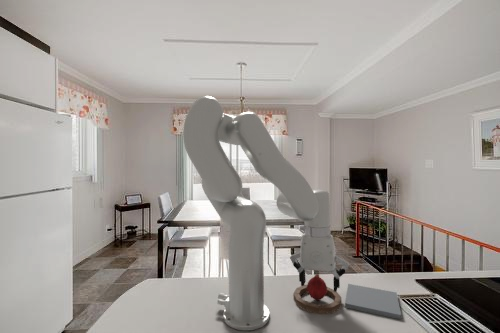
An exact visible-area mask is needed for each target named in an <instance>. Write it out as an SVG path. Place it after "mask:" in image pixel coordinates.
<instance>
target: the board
mask: <svg viewBox="0 0 500 333" xmlns="http://www.w3.org/2000/svg"><path fill="white" fill-rule="evenodd" d="M344 307H345V309H350V310H357V311H360V312H364V313H370V314H375V315H378V316H383V317H387V318H393V319H396V320H397V319H398V320H402V311H401V308H400V303H399V298H398V294H397V292H395V291H392V290H391V291H390V290H385V289H379V288H374V287H373V288H372V287H369V286H364V285H357V284H351V283H348V284H347V289H346V295H345V302H344Z"/></svg>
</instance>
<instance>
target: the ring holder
mask: <svg viewBox="0 0 500 333" xmlns="http://www.w3.org/2000/svg"><path fill="white" fill-rule="evenodd" d="M305 293H308V290H307V284H304V286H301V285H300V286H298V287H296V288H295V290H294V291H293V293H292V294H293V295H292V297H293V300H294V302H295V305H296V306H298V307H299V308H301V309H302V310H304V311H305V312H310V313H314V314H318V315H324V314H326V315H327V314H333V313H335V312H337V311H339V310H341V306H342V296H341V294H340V293H339V292H335V291H334V288H331V287H328V286H327V293H326V296H329V297H331V298H332V299H333V301H332V302H330V303H328V304H316V303H311V302H308V301H307V300H305V299H303V298H302V297H301V296H302V295H304V294H305Z"/></svg>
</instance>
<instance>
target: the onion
mask: <svg viewBox="0 0 500 333" xmlns="http://www.w3.org/2000/svg"><path fill="white" fill-rule="evenodd" d="M306 285H307V290H308V292H307V293H308V295H309V297H310V298H312V299H313V300H314V301H317V302H318V301H320V300H323V298H325V297H326V296H327V294H326V293H327V287H328V286H327V283H326V282H325V280H324V279H323V278H322V277H320V274H319V273H315V274H314V276H313V277H310V279H309V280H308V282H307V284H306Z"/></svg>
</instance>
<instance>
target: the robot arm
mask: <svg viewBox="0 0 500 333" xmlns="http://www.w3.org/2000/svg"><path fill="white" fill-rule="evenodd" d="M183 123H184V124H183V128H182V129H183V131H182V132H183V134H182V135H183V144H184V145H183V146H184V148H185V150H186V153H187V156H188V158H189V160H190V162H191V163H192V165H193V166H194V168H195V170H196V171H197V174H198V175H199V176H200V178H201V188H202V190H203V192H204V194H205V196H206V197H207V199H208V201H209V202H210V203H211V205H212V207H213V209H214V210H215V211H216V213H217V214H218V216H219V217H220V218H221V220H222V222H224V224H225V225H226V226H227V227H228V228H229V232H230V234H229V240H228V248H227V249H228V251H227V254H228V256H227V258H228V294H227V293H223V292H219V293H218V296H217V298H218V299H217V305H219V306H224V307H225V308H224V310H223V313H222V315H223V317H222V318H223V321H224V323H225V324H226V325H227V326H229V327H230V328H231V329H235V330H239V331H253V330H257V329H260V328H262V327H264V326H265V325H267V323H268V322H269V320H270V319H271V317H270V316H271V314H270V309H269V308H268V306H267V305H266V304H265V302H264V301H265V299H264V298H265V295H264V294H265V288H264V287H265V285H264V284H265V282H264V279H265V278H264V276H265V275H264V270H265V268H264V263H265V262H264V246H265V245H264V242H265V236H266V234H265V233H266V228H267V227H266V226H267V217H266V213H265V211H264V209H263V208H262V207H261V206H260V205H259V204H258V203H256V202H255V201H254V200H250V199H248V198H246V197H245V196H244V194H243V193H242V192H243V181H242V179H241V177H240V174H239V172H237V171H236V169H235V168H234V166H233V164H232V163H231V161H230V159H229V157H228V156H227V155H226V153H225V151H224V149H223V147H222V145H221V143H225V144H229V145H234V146H239V147H241V149H242V151H243V152H244V154H245V155H246V157H247V158H248V160H249V162H250V163H251V165H252V167H253V169H255V171H256V172H257V173H258V175H260V176H261V177H262V178H264V179H265V180H267V181H268V182H269V183H271V184H273V185H274V187H276V188H277V189H278V190H279V191H280V192H281V193H280V194H279V195H278V196H277V198H276V208H277V209H278V211H280V213H282V214H284V215H286V216H288V217H291V218H293V219H297V220H299V221H301V222H304V224H303V225H300V226H299V230H300V231H303V234H302V235H301V241H300V251H299V252H296V253H293V254H292V255H291V256H289V259H290V261H291V263H292V266H293V267H294V268H295V269H296V270H297V273H298V276H299V278H298V281H299V283H300V286H304V285H306V270H309V271H310V270H311V271H315V272H322V273H331V274H332V275H333V290H334V291H335V292H337V291H338V289H340V288H341V287H340V285H341V284H340V278H341V277H342V276H343V275H344V274H345V273H346V271H347V270H348V268H349V266H350V262H348V261H347V260H345V259H343V258H342V257H340V256H338V255H336V245H335V241H334V236H333V234H331V210H330V194H329V191H327V190H325V189H318V188H317V189H312V187H311V186H310V184H309V182H308V180H307V179H306V177H304V176H303V175H302V173H301V172H300V170H298V169H297V168H296V167H295V166H294V165H293V164H292V163H291V162H290V161H289V160H287V159H286V158H285V156H284V155H283V154H282V152H281V151H280V150H279V148H278V146H277V145H276V142H275V141H274V140H273V138H272V136H271V134H270V133H269V131H268V130H267V129H268V128H266V126H265V124H264V122H263V121H262V120H261V118H260V117H259V116H258V115H257V114H256V113H255V112H251V111H246V112H242V113H239V114H237V115H235V116H234V115H229V114H227V113H224V108H223V106H222V104H221V102H219V100H217V98H215V97H212V96H209V95H206V96H205V95H204V96H201V97H199V98H197V99H196V100H195V101H194V102H193V103H192V105H191V107H190V108H189V110H188V112H187V114H186V117H185V119H184V122H183ZM220 142H221V143H220ZM298 258H299V262H298V260H297V259H298ZM337 263H338V264H340V265H341V266H342V267H341V268H340V269H338V267H337ZM337 293H338V292H337Z"/></svg>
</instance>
